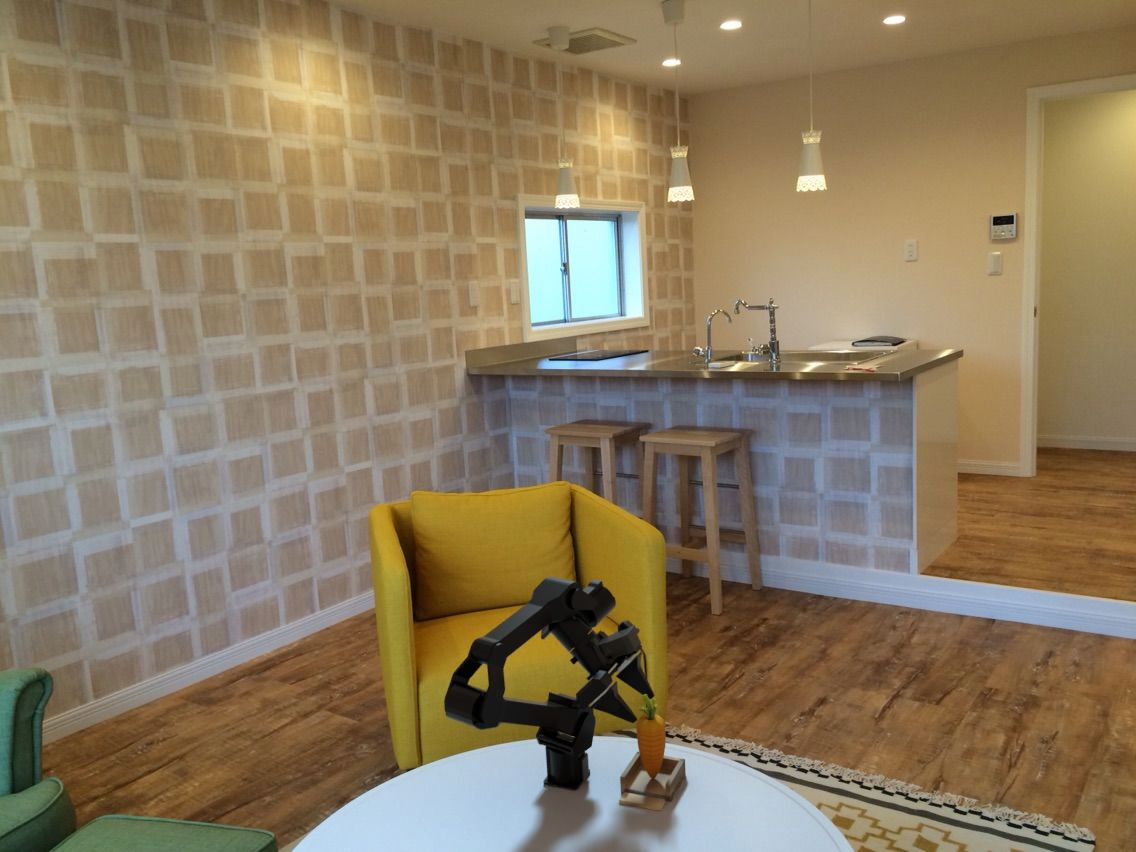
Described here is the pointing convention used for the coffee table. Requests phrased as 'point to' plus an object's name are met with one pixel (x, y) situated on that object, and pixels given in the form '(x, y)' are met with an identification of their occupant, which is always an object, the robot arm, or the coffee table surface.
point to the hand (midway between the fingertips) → (644, 709)
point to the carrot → (651, 738)
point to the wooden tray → (651, 783)
